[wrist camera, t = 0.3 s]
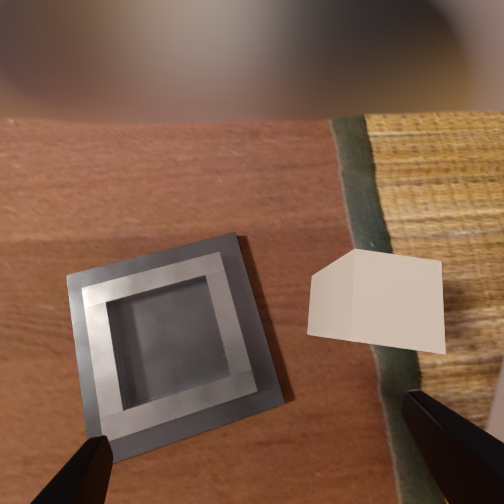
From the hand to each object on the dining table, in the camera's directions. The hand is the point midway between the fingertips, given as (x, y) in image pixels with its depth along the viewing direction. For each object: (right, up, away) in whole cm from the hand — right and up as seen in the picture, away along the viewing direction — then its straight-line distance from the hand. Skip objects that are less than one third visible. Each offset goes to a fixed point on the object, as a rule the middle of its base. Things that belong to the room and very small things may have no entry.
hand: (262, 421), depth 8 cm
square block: (+7, 0, +15) cm, 17 cm away
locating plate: (-7, -2, +14) cm, 15 cm away
